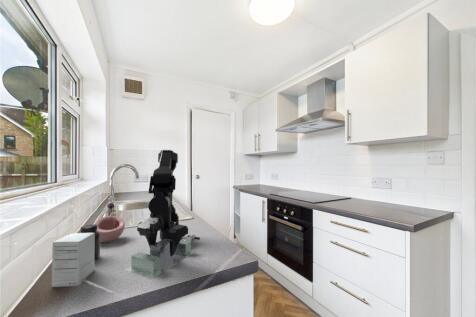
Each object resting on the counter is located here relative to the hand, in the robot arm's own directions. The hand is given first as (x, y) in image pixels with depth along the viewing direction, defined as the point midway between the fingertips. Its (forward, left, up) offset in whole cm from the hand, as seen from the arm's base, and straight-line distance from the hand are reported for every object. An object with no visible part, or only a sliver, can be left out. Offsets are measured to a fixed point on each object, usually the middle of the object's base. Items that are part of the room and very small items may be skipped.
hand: (161, 253), depth 69 cm
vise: (0, 0, -3) cm, 3 cm away
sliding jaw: (0, +12, -2) cm, 12 cm away
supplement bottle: (-26, -10, -4) cm, 28 cm away
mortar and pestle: (-37, +4, -4) cm, 37 cm away
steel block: (0, 0, -2) cm, 2 cm away
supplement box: (-16, -19, -4) cm, 25 cm away
